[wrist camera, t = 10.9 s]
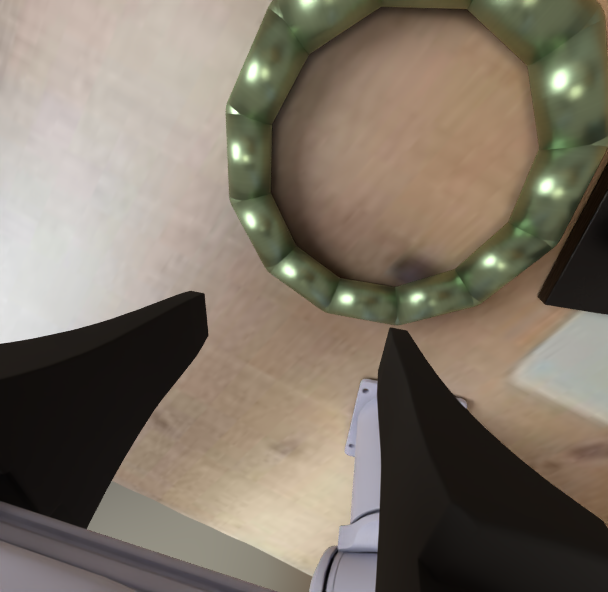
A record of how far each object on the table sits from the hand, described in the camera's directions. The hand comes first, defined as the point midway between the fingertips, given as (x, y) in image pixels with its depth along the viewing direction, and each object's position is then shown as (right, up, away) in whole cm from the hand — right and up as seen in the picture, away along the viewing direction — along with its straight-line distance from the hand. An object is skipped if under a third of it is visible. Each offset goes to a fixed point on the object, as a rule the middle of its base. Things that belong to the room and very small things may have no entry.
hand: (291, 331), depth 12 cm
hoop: (+5, +8, +4) cm, 10 cm away
